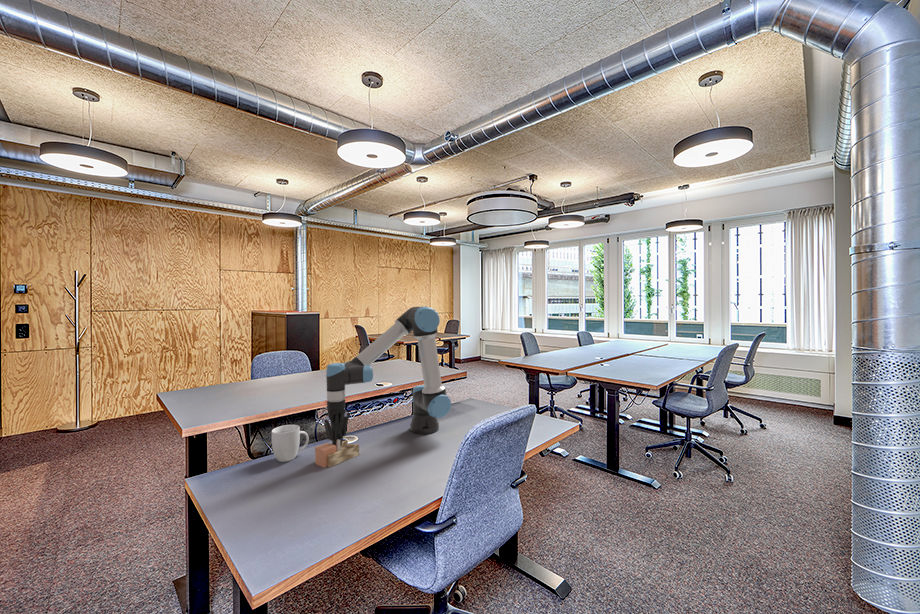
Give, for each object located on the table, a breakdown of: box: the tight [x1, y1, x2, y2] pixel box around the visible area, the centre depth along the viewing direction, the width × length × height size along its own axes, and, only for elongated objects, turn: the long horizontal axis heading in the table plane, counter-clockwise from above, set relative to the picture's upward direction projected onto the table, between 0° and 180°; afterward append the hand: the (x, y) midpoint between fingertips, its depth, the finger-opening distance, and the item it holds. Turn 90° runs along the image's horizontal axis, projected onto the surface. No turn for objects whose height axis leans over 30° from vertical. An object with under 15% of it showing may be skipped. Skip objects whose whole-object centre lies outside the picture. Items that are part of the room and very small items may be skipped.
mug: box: [271, 424, 310, 463], centre depth 162 cm, size 15×11×13 cm
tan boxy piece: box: [327, 439, 360, 468], centre depth 161 cm, size 15×10×6 cm
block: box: [314, 442, 336, 468], centre depth 156 cm, size 6×6×7 cm
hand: (337, 454), depth 160 cm, fingers closed
